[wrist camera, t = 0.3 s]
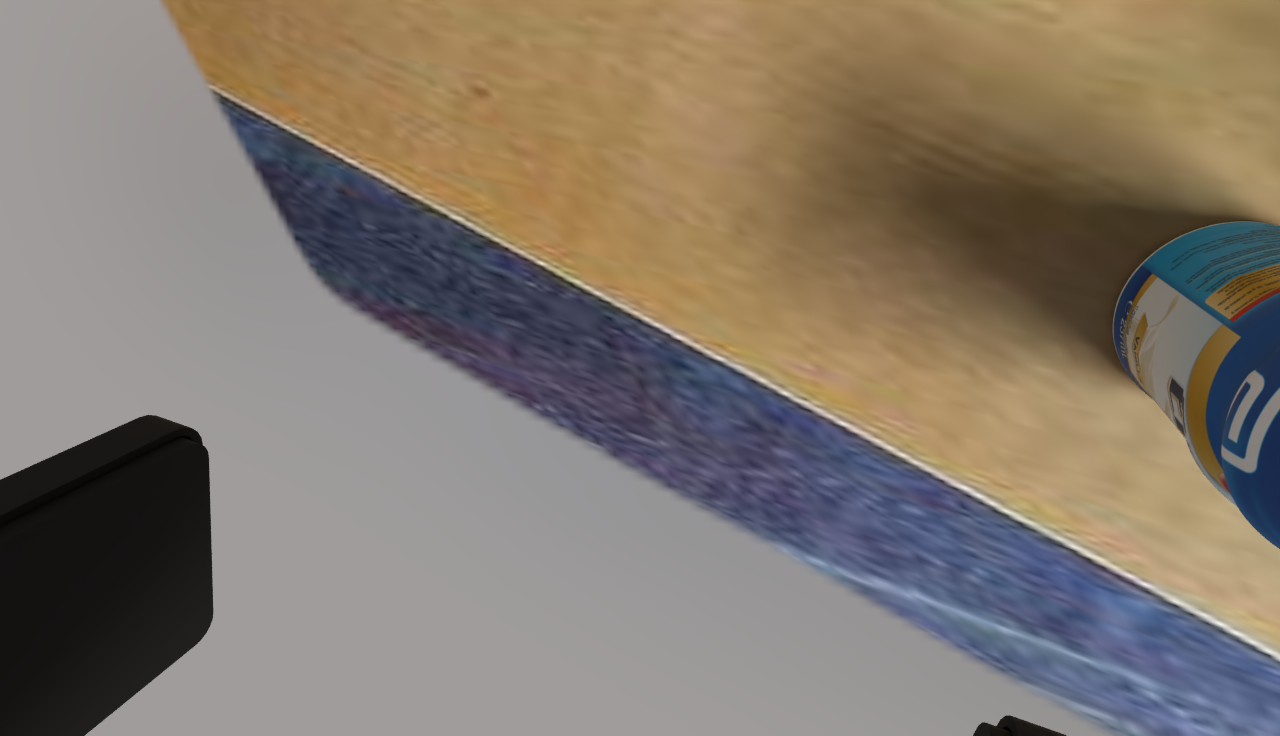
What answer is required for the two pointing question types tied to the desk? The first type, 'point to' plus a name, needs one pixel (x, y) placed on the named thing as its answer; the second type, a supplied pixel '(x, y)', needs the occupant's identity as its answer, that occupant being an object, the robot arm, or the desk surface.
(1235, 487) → the beverage bottle
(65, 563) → the robot arm
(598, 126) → the desk surface
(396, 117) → the desk surface
